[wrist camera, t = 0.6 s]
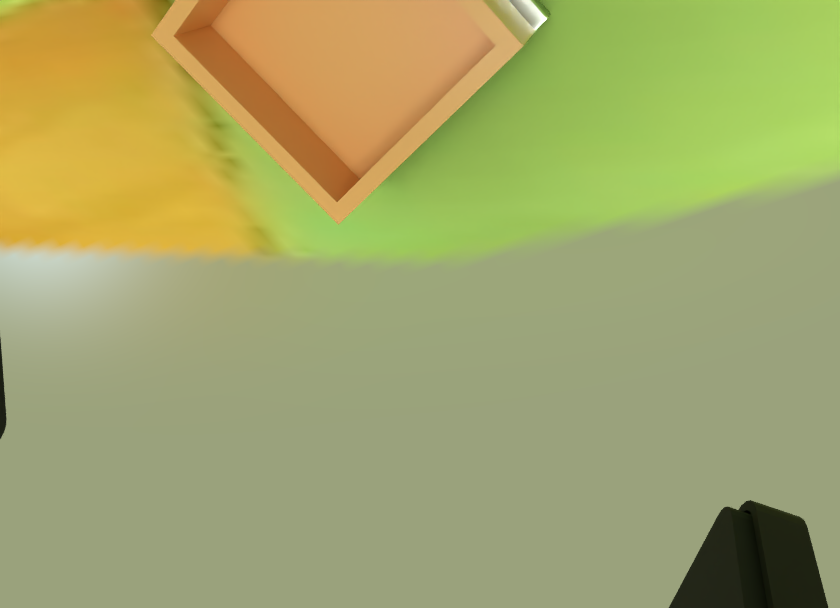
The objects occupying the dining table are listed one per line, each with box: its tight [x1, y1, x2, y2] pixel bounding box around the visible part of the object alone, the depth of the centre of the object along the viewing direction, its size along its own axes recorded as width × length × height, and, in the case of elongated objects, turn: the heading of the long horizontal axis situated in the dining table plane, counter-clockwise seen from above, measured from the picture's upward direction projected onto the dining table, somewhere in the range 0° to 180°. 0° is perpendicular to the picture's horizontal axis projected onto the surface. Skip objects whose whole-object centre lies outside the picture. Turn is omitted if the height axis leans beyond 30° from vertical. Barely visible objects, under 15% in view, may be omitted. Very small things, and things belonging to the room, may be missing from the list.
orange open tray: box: [151, 0, 535, 224], centre depth 35 cm, size 12×12×6 cm
